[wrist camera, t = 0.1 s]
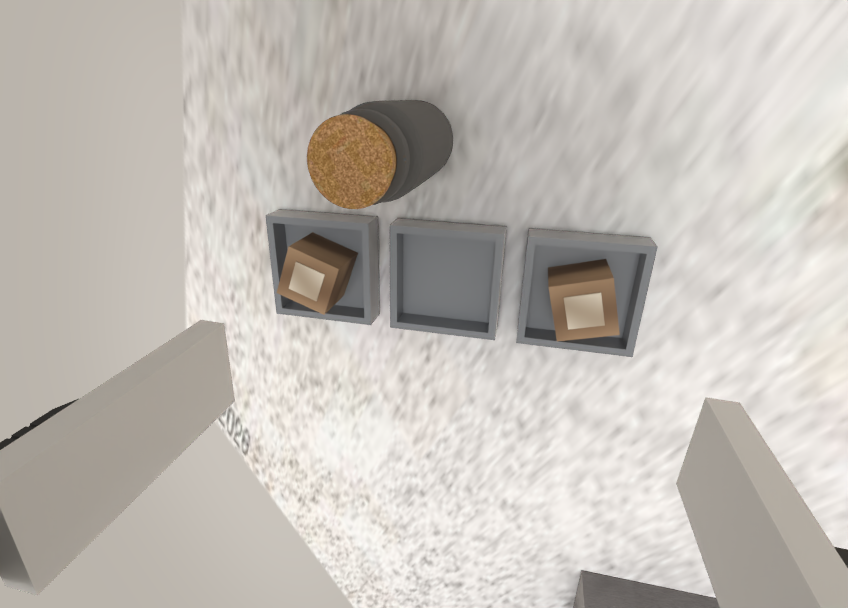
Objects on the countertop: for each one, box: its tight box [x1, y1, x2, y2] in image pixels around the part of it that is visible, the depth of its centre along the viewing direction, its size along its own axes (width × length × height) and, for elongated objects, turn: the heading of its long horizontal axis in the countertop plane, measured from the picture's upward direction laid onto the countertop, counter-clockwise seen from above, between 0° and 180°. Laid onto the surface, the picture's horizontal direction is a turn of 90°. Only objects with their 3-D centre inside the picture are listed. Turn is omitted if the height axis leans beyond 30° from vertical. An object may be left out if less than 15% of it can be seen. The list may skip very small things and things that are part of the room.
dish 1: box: [266, 209, 380, 325], centre depth 43 cm, size 9×9×2 cm
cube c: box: [277, 232, 358, 315], centre depth 41 cm, size 4×4×5 cm
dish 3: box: [516, 228, 657, 357], centre depth 38 cm, size 9×9×2 cm
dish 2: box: [390, 218, 507, 340], centre depth 41 cm, size 9×9×2 cm
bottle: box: [307, 100, 453, 209], centre depth 31 cm, size 6×6×15 cm
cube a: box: [548, 259, 620, 341], centre depth 37 cm, size 4×4×5 cm
